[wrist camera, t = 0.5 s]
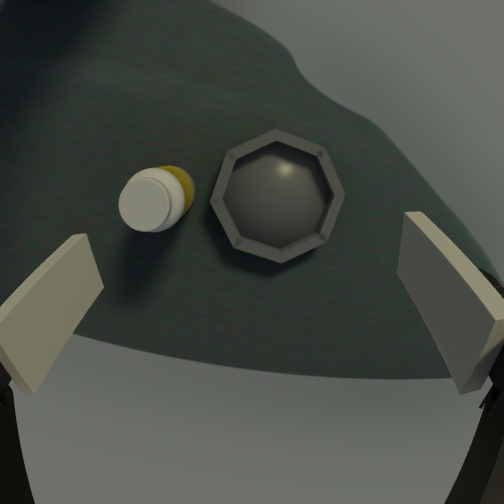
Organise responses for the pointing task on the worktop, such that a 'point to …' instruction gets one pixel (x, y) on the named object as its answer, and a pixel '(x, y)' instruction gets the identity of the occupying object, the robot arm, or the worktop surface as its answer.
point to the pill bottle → (156, 198)
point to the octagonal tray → (277, 196)
